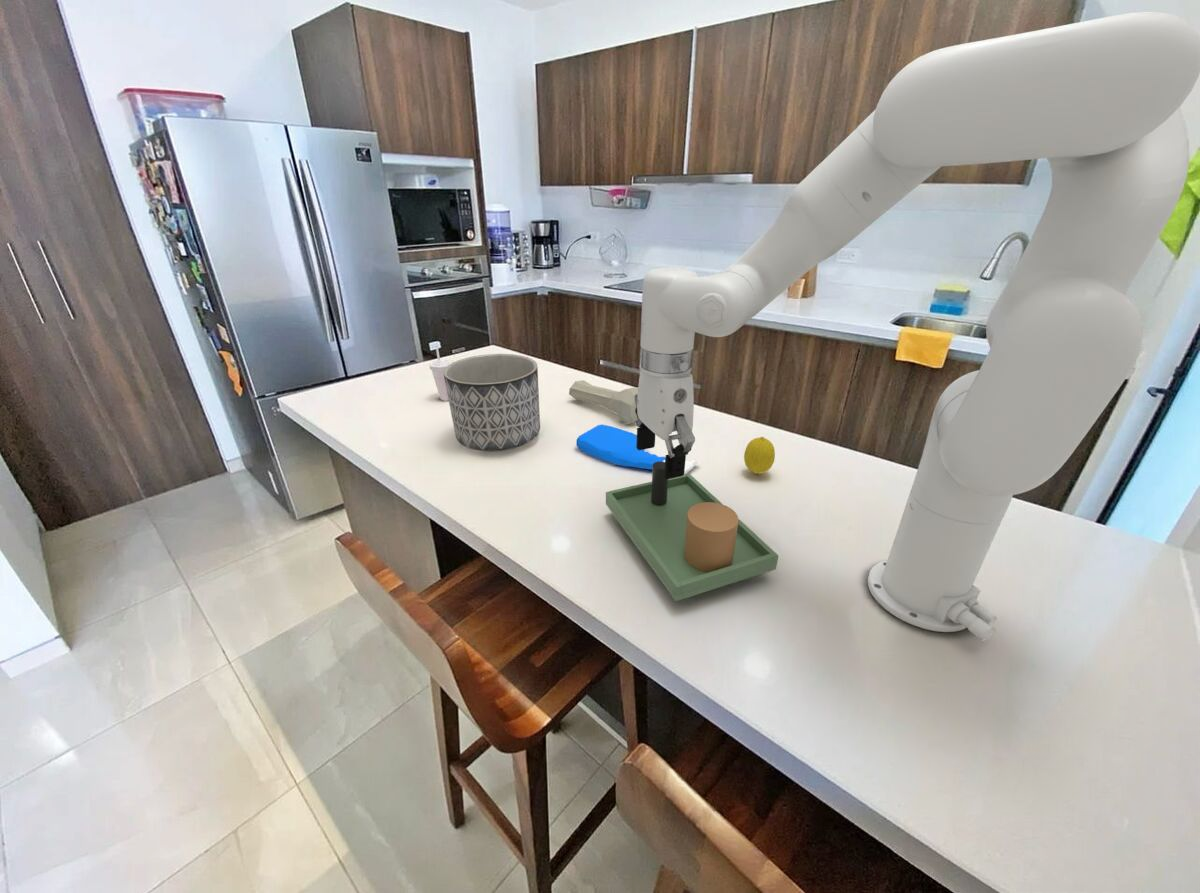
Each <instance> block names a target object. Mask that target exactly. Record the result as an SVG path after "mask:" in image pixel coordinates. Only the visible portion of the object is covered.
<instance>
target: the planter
mask: <svg viewBox="0 0 1200 893" xmlns="http://www.w3.org/2000/svg"><path fill="white" fill-rule="evenodd" d="M538 368H539V367H538V363H537V362H536V360H534V359H533V358H530V357H527V356H525V355H520V354H513V353H488V354H479V355H473V356H469V357H465V358H462V359H458V360H456V361H454V363H452V364H450V365H448V366H447V367H446V368H445V369H444V372H443V374H444V379H445V384H446V389H447V394H448V399H449V400H448V405H449V410H450V413H451V418H452V426H453V429H454V435H455V438H456V440H457V441H458V443H460V444H461V445H462V446H463V447H466V448H468V449H472V450H475V451H483V452H499V451H506V450H511V449H514V448H518V447H522V446H524V445H526V444H528V443H531V441H533V440H534V439H535V438H536V437H537V436H538V435H539V434H540V430H541V414H540V413H541V412H540V392H539V370H538Z"/></svg>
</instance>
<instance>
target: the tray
mask: <svg viewBox="0 0 1200 893" xmlns="http://www.w3.org/2000/svg"><path fill="white" fill-rule="evenodd" d="M651 470H652V472H651V481H648V482H644V483H639V484H636V485H631V486H627V487H622V488H618V489H613V490H610V491H605V505H606V507H607V509H609V511H610V512H611V513H612V515H613V516H614V518H615V520H616V521H617V522H618V524H619V525H620V526H621V528H622V529H623V530H624V532H625V533H626V535H627V536H628V537H629V539H630V540H631V541H632V543H633V545H634V546H635V547H636V548H637V550H638V551H639V553H640V554H641V555H642V558H644V559H645V561H646V562H647V564H648V565H649V567H650V568H651V570H652V571H653V572H654V574H655V575H656V576H657V578H658V579H659V581H660V582H661V583H662V585H663V586H664V587H665V589H666V590H667V592H668V593H669V594H670V596H671V597H672V598H673V600H674V601H675V602H678V601H681V600H684V599H688V598H691V597H694V596H697V595H700V594H704V593H706V592H710V591H713V590H716V589H718V588H719V589H720V588H722V587H725V586H728V585H732V584H734V583H737V582H740V581H744V580H747V579H750V578H753V577H756V576H759V575H762V574H766V573H769V572H772V571H774V570H776V569H777V565H778V560H779V554H778V553H777V552H775V551H774V550H773V549H772V548H771V546H769V545H768V544H767V543H766V542H765V541H763V540H762V539H761V538H760V537H759V536H758V535H757V534H756V533H755V532H753V530H752V529H750V528H749V527H748V526H747V525H746V524H745V523H744V522H743V521H742V520H741V519H740V518H738V527H737V534H736V541H735V548H734V555H733V561H732V564H731V566H728V567H725V568H722V569H719V570H715V571H712V572H709V573H708V572H703V571H699V570H697V569H695V568H693V567H692V566H690V565H689V564H688V563H687V561H686V560H685V557H684V548H685V536H686V524H687V513H688V510H689V509H690V508H691V507H692V506H694V505H696V504H699V503H704V502H713V503H719V504H722V505H724V504H723V503H722V502H721V500H719V499H718V498H717V497H715V495H713V493H711V492H710V491H709V490H708V489H707V488H706V487H705V486H704V485H703V484H701V482H700V481H698V480H697V479H696V478H695V477H694V476H693V475H692V474H690V472H687V473H686V474H684V475H683V476H680V477H676V478H671V479H666V478H665V477H664V470H665V462H662V461H658V462H655V463H653V469H651Z"/></svg>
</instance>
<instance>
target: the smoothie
mask: <svg viewBox="0 0 1200 893" xmlns="http://www.w3.org/2000/svg"><path fill="white" fill-rule="evenodd" d="M435 352H436V357H437V359H436V360H433V361H431V362H430V363H429V364H428V367H429V369H430V371H431V374H432V377H433V380H434V383H435V386H436V389H437V392H438V395H439V398H440V400H441V401H444V402H445V401H446V402H447V401H448V402H449V399H448V394H447V389H446V384H445V379H444V374H443V372H444V369H445V368H446V367H447V366H448V365H450V364H452V363H454V362H455V361H454V360H452V359H446V358H445V359H441V357H440V351H439V347H438V346H435Z"/></svg>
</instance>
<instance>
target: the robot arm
mask: <svg viewBox="0 0 1200 893" xmlns="http://www.w3.org/2000/svg"><path fill="white" fill-rule="evenodd" d="M1199 77H1200V34H1199V32H1198V31H1197V30H1196V28H1195V27H1194V26H1193V24H1192V23H1190V22H1188V21H1187V20H1185V19H1184V18H1183V17H1181V16H1177V15H1175V14H1172V13H1169V12H1164V11H1163V12H1161V11H1148V10H1147V11H1135V12H1128V13H1121V14H1115V15H1111V16H1110V15H1109V16H1103V17H1099V18H1095V19H1094V18H1093V19H1090V20H1084V21H1078V22H1074V23H1073V22H1072V23H1068V24H1064V25H1057V26H1054V27H1047V28H1043V29H1038V30H1031V31H1027V32H1022V33H1016V34H1010V35H1005V36H1000V37H999V36H998V37H993V38H988V39H983V40H977V41H971V42H966V43H960V44H954V45H951V46H946V47H943V48H938V49H935V50H932V51H930V52H927V53H925V54H922V55H920V56H918V57H917V58H915V59H914V60H913V61H911V62H909V63H908V64H906V65H905V66H904V67H902V69H901V70H900V71H899V72H897V73H896V74H895V76H894V77H893V78H892V79H891V80H890V81H889V82H888V84H887V85H886V87H885V89H884V90H883V92H882V94H881V96H880V98H879V100H878V102H877V105H876V107H875V109H873V111H872V112H871V113H870V114H869V115H868V116H867V117H866V118H865V119H864V120H863V121H862V122H860V124H859V125H858V126H857V127H856V128H855V129H854V130H853V131H852V132H851V133H850V134H849V135H848V136H847V137H846V138H845V139H844V140H843V141H842V142H841V143H840V144H839V145H837V147H835V149H833V151H832V152H831V153H830V154H828V155H827V156H826V157H825V158H824V159H823V160H822V161H821V162H820V163H819V164H818V165H817V166H816V167H815V168H814V169H813V170H812V171H811V172H810V173H809V174H807V175H806V177H804V178H803V179H802V180H801V181H800V182H799V183H797V185H796V186H795V188H794V189H793V190H792V192H791V193H790V194H789V196H787V199H786V201H785V203H784V205H783V207H782V210H781V211H780V213H779V214H778V216H777V217H776V219H775V221H773V223H772V224H771V225H770V226H769V228H768V229H767V230H766V231H764V233H763V234H762V235H761V236H760V237H758V239H757V240H756V241H755V242H754V243H752V245H751V246H750V247H748V249H747V250H746V251H745V252H743V253H742V254H741V255H740V256H739V257H738V258H737V259H736V260H735V261H734V262H733V263H731V265H730V266H728V267H727V268H726V269H723V270H721V271H718V272H716V273H714V274H709V275H707V276H698V274H697V273H696V272H695V271H694V270H693V269H690V268H686V267H685V268H684V267H677V266H675V267H674V266H666V267H665V266H664V267H655V268H652V269H650V270H648V271H647V272H646V273H645V275H644V277H643V280H642V295H641V296H642V297H641V315H640V316H641V319H640V343H639V344H640V346H639V348H640V349H639V367H638V368H639V370H640V372H639V378H638V386H637V387H638V394H636V395H635V396H634V398H635V404H636V407H637V408H636V409H635V413H636V415H637V418H638V419H637V420H636V421H635V425H636V427H637V428H636V435H637V443H636V448H637V449H638V450H644V451H645V450H647V449H648V450H649V449H654V448H655V447H656V446H655V445H656V436H657V437H658V438H659V439H661V440H662V441H664V443H665V447H666V451H667V454H665V456H664V457H665V470H664V477H665V478H666V479H671V478H676V477H680V476H683V475H684V470H685V461H686V459H687V455H689V452H691V451H692V449H693V445H694V444H695V443H696V437H695V435H694V433H693V428H694V426H693V425H694V412H695V411H694V410H695V409H694V408H695V407H694V406H695V395H694V394H695V393H694V391H695V390H694V380H693V374H692V366H693V358H694V357H693V356H694V345H695V336H696V335H695V334H696V333H697V334H700V335H703V336H707V337H711V338H723V337H728V336H730V335H732V334H734V333H735V332H737V331H738V330H739V329H740V328H742V327H743V326H744V325H746V323H747V322H748V321H750V320H751V319H752V318H754V317H755V316H756V315H757V314H759V313H760V312H761V311H762V310H764V308H765V307H767V306H768V305H769V304H771V302H773V301H774V300H775V299H776V298H777V297H779V296H781V294H782V293H783V292H784V291H786V290H787V289H788V288H790V287H791V286H792V285H793V284H795V283H796V282H797V281H798V280H799V279H801V278H802V277H803V276H804V275H806V274H807V273H809V271H810V270H811V269H813V268H814V267H816V266H817V265H818V264H820V263H821V262H824V261H825V260H827V259H828V258H831V257H832V256H834V255H835V254H837V253H838V252H839V251H841V250H842V249H843V248H844V247H846V246H847V245H848V244H849V243H851V242H852V241H853V240H855V239H856V237H858V236H859V235H860V234H861V233H862V232H864V231H865V230H866V229H867V228H869V227H870V226H872V225H873V223H874V222H876V221H877V220H878V219H879V218H881V217H882V216H883V215H884V214H885V213H887V212H888V211H889V210H890V209H891V208H893V207H894V206H896V204H898V203H899V202H900V201H901V200H903V199H904V198H906V196H907V195H909V194H910V193H911V192H913V190H915V189H916V188H917V187H919V186H920V185H921V184H923V183H924V182H925V181H926V180H927V179H928V178H929V177H931V176H932V175H933V174H934V173H936V172H937V171H938V170H939V169H940V168H942V167H954V166H971V165H985V164H997V163H1008V162H1009V163H1010V162H1021V161H1029V160H1031V161H1032V160H1041V159H1046V161H1047V162H1048V164H1049V167H1050V171H1051V186H1050V191H1049V195H1048V199H1047V202H1046V204H1045V207H1044V210H1043V212H1042V214H1041V215H1040V218H1039V220H1038V222H1037V225H1036V226H1035V229H1034V231H1033V233H1032V236H1031V238H1030V240H1029V242H1028V244H1027V245H1026V248H1025V249H1024V251H1023V253H1022V255H1021V257H1020V259H1019V261H1018V262H1017V265H1016V266H1015V268H1014V270H1013V272H1012V274H1011V276H1010V277H1009V279H1008V281H1007V283H1006V284H1005V286H1004V287H1003V290H1002V291H1001V293H1000V295H999V296H998V298H997V300H996V301H995V303H994V304H993V306H992V308H991V310H990V312H989V314H988V317H987V320H986V322H985V323H986V324H985V335H986V339H987V342H988V345H989V350H988V353H987V355H986V357H985V358H984V360H983V363H982V364H981V366H980V368H979V369H978V370H974V371H971V372H968V373H966V374H964V375H961V376H960V377H958V378H956V379H955V380H954V381H953V382H951V383H950V384H949V385H948V386H947V387H946V388H945V389H944V391H943V392H942V393H941V395H940V396H939V398H938V400H937V402H936V404H935V406H934V409H933V413H932V415H931V420H930V423H929V427H928V432H927V436H926V440H925V443H924V447H923V451H922V454H921V457H920V460H919V464H918V466H917V467H918V468H917V471H916V473H915V476H914V478H913V483H912V486H911V489H910V492H909V494H908V498H907V501H906V503H905V506H904V509H903V513H902V515H901V518H900V522H899V525H898V528H897V530H896V534H895V536H894V540H893V542H892V545H891V549H890V551H889V555H888V557H887V560H883V561H880V562H877V563H876V564H875V565H873V566H872V567H871V569H870V571H869V573H868V576H867V586H868V590H869V592H870V593H871V595H872V597H873V598H874V600H875V601H876V602H877V603H878V604H879V605H880V606H881V607H882V608H883V609H885V611H887V612H888V613H890V614H891V615H893V616H895V618H898V619H899V620H901V621H903V622H905V623H907V624H910V625H912V626H915V627H917V628H921V629H924V630H928V631H933V632H941V633H955V632H959V631H963V630H965V629H967V630H968V631H969V632H970V633H972V634H973V635H974V636H976V637H978V638H979V639H980V640H981V641H983V642H986V641H987V640H989V639H990V638H991V637H992V636H993V635H994V634H995V631H996V628H994V627H993V626H992V625H994V623H996V621H997V620H998V617H997V616H996V615H994V614H993V613H991V612H990V611H989V610H987V609H985V608H984V607H982V606H981V605H980V602H979V601H977V600H978V598H979V596H980V594H981V589H980V588H978V587H977V586H975V585H974V583H975V581H976V579H977V576H978V574H979V572H980V570H981V567H982V565H983V563H984V561H985V558H986V556H987V554H988V552H989V549H990V548H991V545H992V544H993V542H994V539H995V536H996V535H997V532H998V530H999V528H1000V526H1001V523H1002V521H1003V519H1004V517H1005V515H1006V513H1007V511H1008V508H1009V506H1010V504H1011V503H1012V499H1013V497H1014V496H1015V495H1019V494H1020V495H1021V494H1023V493H1026V492H1030V491H1031V490H1033V489H1035V488H1037V487H1040V486H1041V485H1042V484H1044V483H1046V482H1047V481H1048V480H1049V479H1051V478H1052V477H1053V476H1054V475H1055V474H1056V473H1057V472H1058V471H1059V470H1060V469H1062V467H1063V466H1064V464H1065V463H1066V462H1067V461H1068V460H1069V459H1070V457H1071V456H1072V455H1073V453H1074V452H1075V450H1076V449H1077V447H1078V446H1079V445H1080V444H1081V442H1082V441H1083V439H1084V438H1085V437H1086V436H1087V434H1088V432H1089V431H1090V430H1091V428H1092V427H1093V425H1094V424H1095V423H1096V422H1097V420H1098V418H1100V416H1101V414H1103V412H1104V410H1105V409H1106V408H1107V406H1108V405H1109V403H1110V402H1111V401H1112V399H1113V398H1114V396H1115V395H1116V394H1117V392H1118V391H1119V390H1120V388H1121V386H1122V385H1123V384H1124V382H1125V381H1126V379H1127V377H1128V376H1129V374H1130V373H1131V371H1132V369H1133V367H1134V365H1135V363H1136V361H1137V359H1138V356H1139V353H1140V350H1141V347H1142V342H1143V336H1144V334H1143V333H1144V326H1143V321H1142V318H1141V315H1140V313H1139V310H1138V309H1137V308H1136V306H1135V304H1134V303H1133V301H1131V300H1130V299H1129V298H1128V297H1127V296H1126V295H1127V292H1128V291H1129V288H1130V287H1131V285H1132V283H1133V281H1134V280H1135V278H1136V276H1137V274H1138V273H1139V272H1140V270H1141V269H1142V266H1143V265H1144V263H1145V262H1146V260H1147V259H1148V257H1149V255H1150V253H1151V251H1152V250H1153V248H1154V246H1155V244H1156V242H1157V240H1158V239H1159V237H1160V236H1161V234H1162V232H1163V230H1165V227H1166V225H1167V223H1168V222H1169V220H1170V218H1171V216H1172V215H1173V212H1174V210H1175V209H1176V207H1177V204H1178V202H1179V201H1180V198H1181V196H1182V193H1183V190H1184V186H1185V184H1186V180H1187V176H1188V172H1189V171H1188V170H1189V165H1190V141H1189V133H1188V129H1187V128H1188V127H1187V124H1186V121H1185V118H1184V117H1185V116H1184V114H1183V112H1182V109H1181V106H1182V104H1183V103H1184V102H1185V100H1186V99H1187V98H1188V97H1189V95H1190V94H1191V92H1192V91H1193V89H1194V87H1195V85H1196V82H1197V81H1198V79H1199ZM674 432H676V433H677V434H673V435H672V433H674ZM676 440H678V445H676V446H675V447H674V443H673V441H676Z"/></svg>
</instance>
